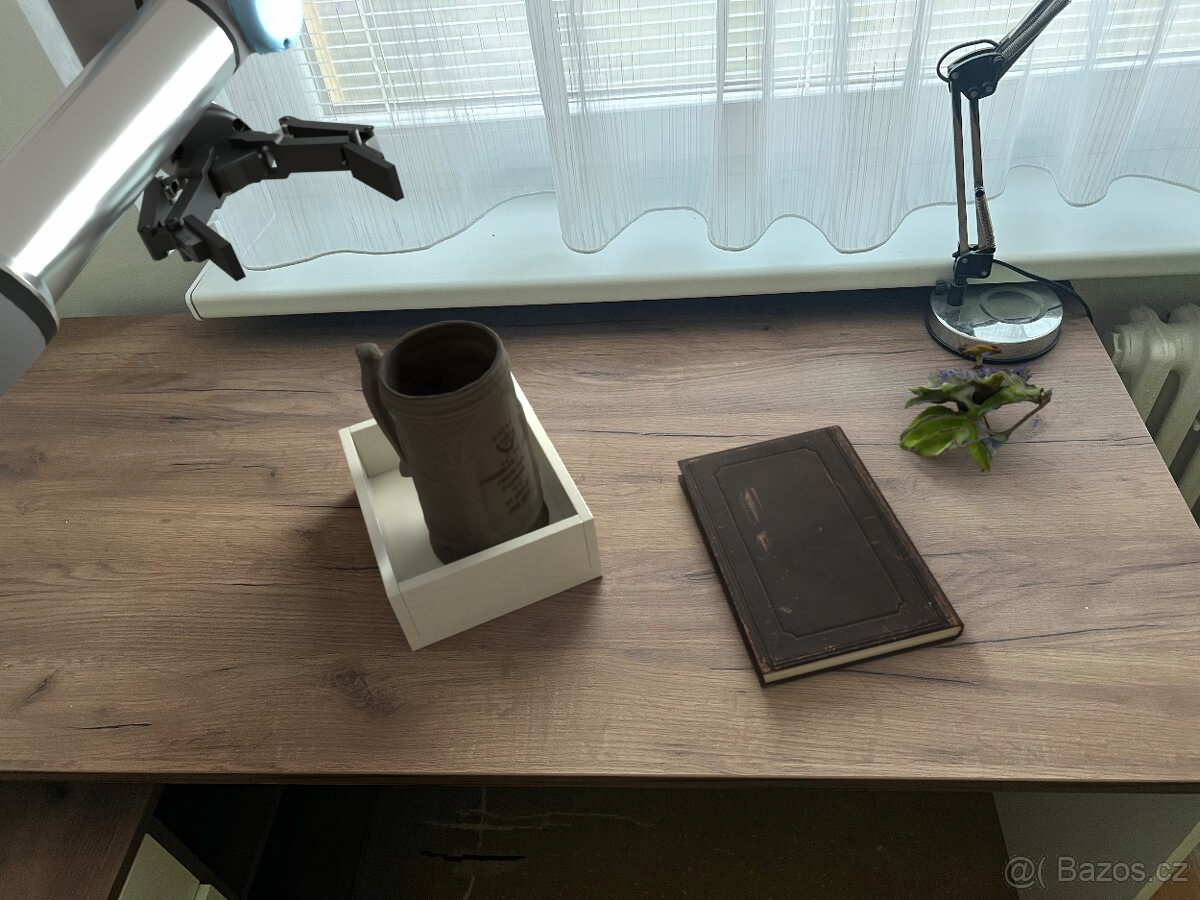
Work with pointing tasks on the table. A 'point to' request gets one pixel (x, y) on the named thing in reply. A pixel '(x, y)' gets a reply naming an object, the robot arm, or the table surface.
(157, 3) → the robot arm
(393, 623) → the table surface
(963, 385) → the passion flower
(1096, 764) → the table surface
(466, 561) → the open storage bin
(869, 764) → the table surface
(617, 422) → the table surface
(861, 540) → the hardcover book
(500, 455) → the beer stein
